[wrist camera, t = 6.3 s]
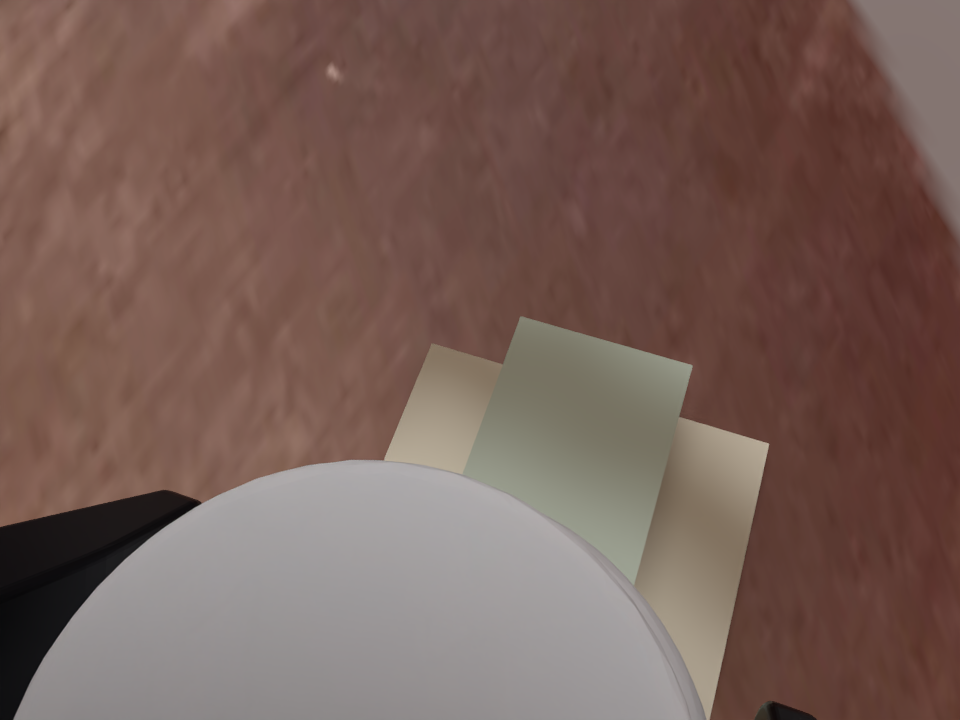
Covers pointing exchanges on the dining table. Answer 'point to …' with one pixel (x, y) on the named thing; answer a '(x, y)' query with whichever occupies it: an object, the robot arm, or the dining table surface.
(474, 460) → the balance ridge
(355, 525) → the supplement bottle
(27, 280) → the dining table surface
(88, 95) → the dining table surface
